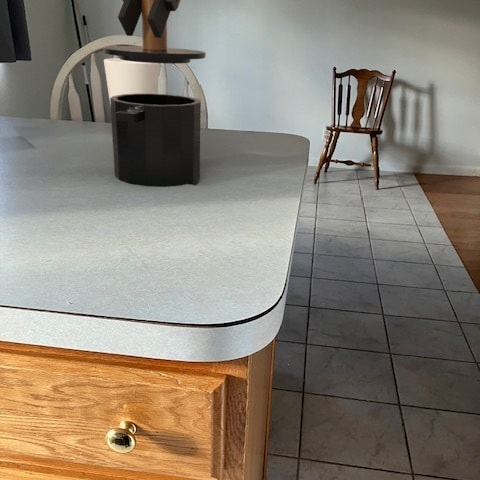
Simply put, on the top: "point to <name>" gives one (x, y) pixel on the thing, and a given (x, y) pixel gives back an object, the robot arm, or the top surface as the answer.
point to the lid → (153, 46)
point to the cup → (130, 77)
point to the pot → (156, 139)
